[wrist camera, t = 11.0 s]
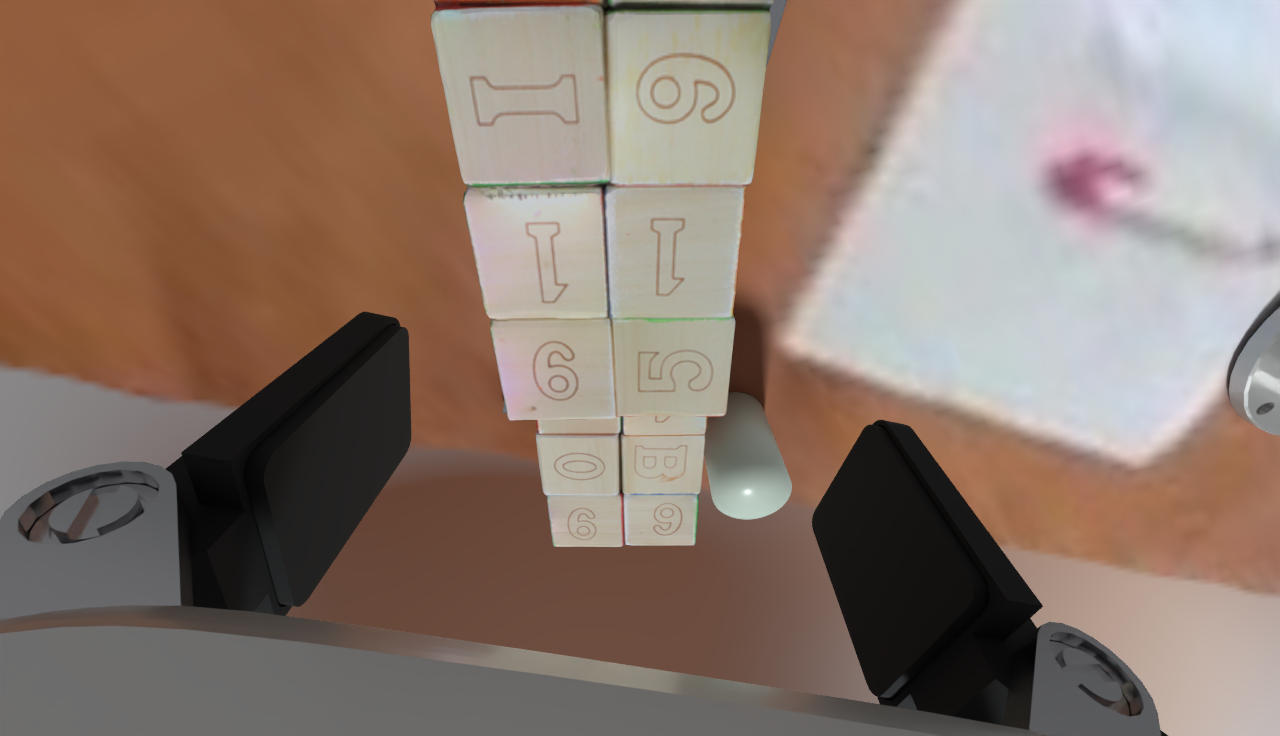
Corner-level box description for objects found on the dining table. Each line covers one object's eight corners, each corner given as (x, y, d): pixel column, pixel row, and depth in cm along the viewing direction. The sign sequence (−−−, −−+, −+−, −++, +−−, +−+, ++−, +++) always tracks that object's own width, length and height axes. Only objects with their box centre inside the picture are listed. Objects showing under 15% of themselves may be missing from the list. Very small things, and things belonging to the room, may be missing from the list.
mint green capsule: (774, 398, 28) (804, 469, 23) (751, 449, 30) (774, 524, 25) (709, 386, 28) (726, 455, 23) (690, 438, 30) (702, 513, 25)
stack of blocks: (678, 417, 28) (703, 617, 18) (572, 417, 28) (535, 618, 18) (707, -59, 17) (819, -274, 7) (534, -61, 17) (372, -281, 7)
